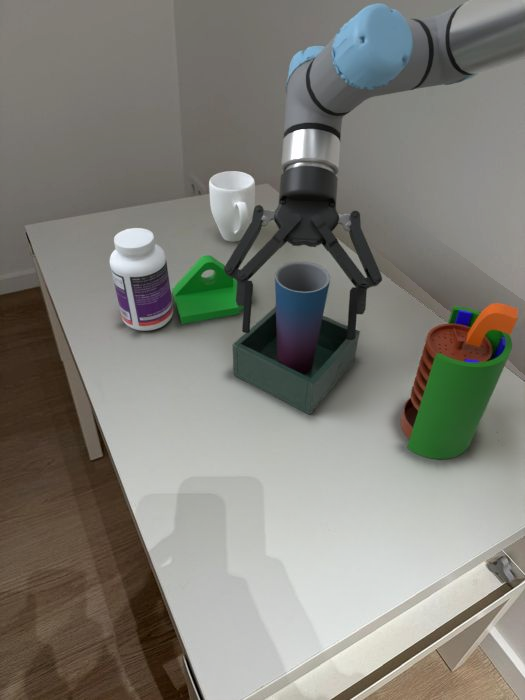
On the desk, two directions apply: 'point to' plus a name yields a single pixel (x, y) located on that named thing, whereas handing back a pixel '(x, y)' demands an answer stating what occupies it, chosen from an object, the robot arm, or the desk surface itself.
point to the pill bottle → (141, 280)
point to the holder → (283, 382)
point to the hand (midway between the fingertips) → (298, 335)
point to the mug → (232, 203)
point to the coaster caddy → (457, 379)
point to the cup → (299, 312)
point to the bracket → (206, 293)
